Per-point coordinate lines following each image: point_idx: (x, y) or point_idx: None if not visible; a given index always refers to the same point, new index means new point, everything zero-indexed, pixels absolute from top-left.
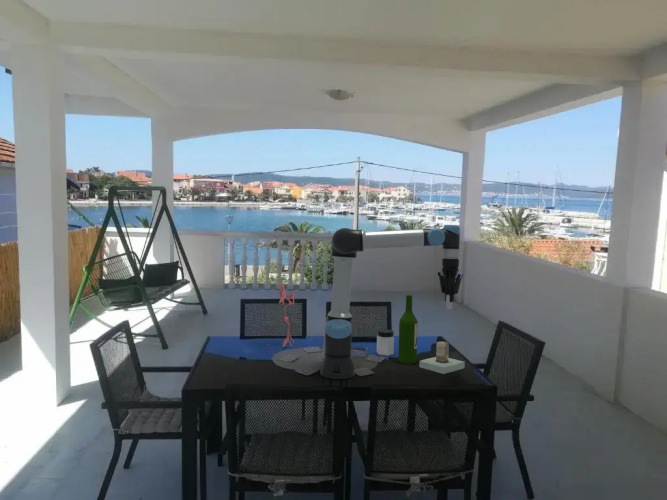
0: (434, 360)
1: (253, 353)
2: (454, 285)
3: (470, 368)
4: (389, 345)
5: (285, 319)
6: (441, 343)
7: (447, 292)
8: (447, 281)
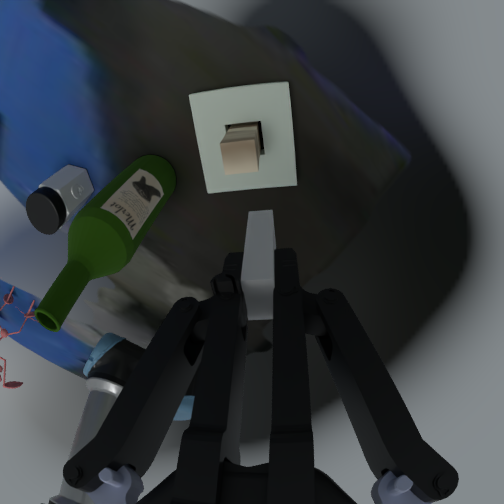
0: None
1: (65, 346)
2: (343, 397)
3: (298, 67)
4: (79, 197)
5: (7, 335)
6: (248, 172)
7: (243, 325)
8: (239, 432)
